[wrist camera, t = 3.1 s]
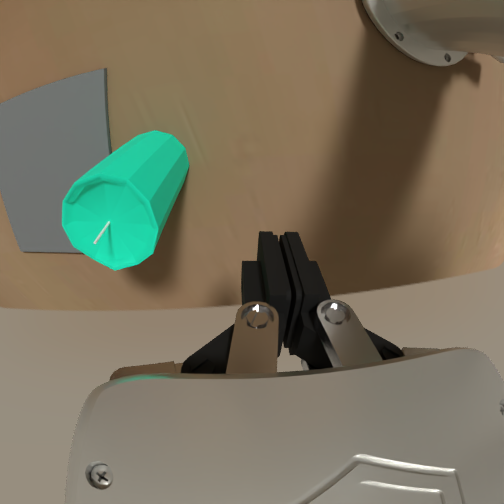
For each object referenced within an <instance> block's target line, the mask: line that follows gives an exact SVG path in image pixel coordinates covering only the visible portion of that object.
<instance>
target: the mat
mask: <svg viewBox="0 0 504 504" xmlns="http://www.w3.org/2000/svg"><path fill="white" fill-rule="evenodd" d="M110 154H112V152H111V142H110V132H109V119H108V103H107V68H105V69H100V70H95V71H91V72H87V73H83V74H80V75H76V76H73V77H69V78H66V79H63V80H59V81H56V82H53V83H50V84H47V85H44V86H42V87H39V88H36V89H34V90H31V91H28V92H26V93H23V94H21V95H19V96H16V97H14V98H12V99H9V100H7V101H5V102H3V103H1V104H0V191H1V194H2V198H3V201H4V205H5V208H6V211H7V215H8V218H9V221H10V224H11V227H12V229H13V232H14V235H15V238H16V240H17V243H18V245H19V248H20V251H25V252H69V253H82V252H81V251H79V250H78V249H76V248H74V247H73V245H72V243H71V242H70V240H69V238H68V236H67V234H66V232H65V230H64V228H63V226H62V204H63V200H64V198H65V196H66V195H67V193H68V191H69V190H70V188H71V187H72V185H73V184H74V182H76V181H77V180H78V179H79V178H81V177H82V176H83V175H84V174H85V173H87V172H88V171H89V170H90V169H92V168H93V167H94V166H96V165H97V164H98V163H100V162H101V161H102V160H103V159H105V158H106V157H108V156H109V155H110Z"/></svg>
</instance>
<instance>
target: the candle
mask: <svg viewBox="0 0 504 504" xmlns="http://www.w3.org/2000/svg"><path fill="white" fill-rule="evenodd" d="M188 168H189V162H188V157H187V153H186V149H185V147H184V146H183V145H182V144H181V143H180V142H179V141H178V140H177V139H176V138H175V137H174V136H173V135H171V134H167V133H163V132H160V131H156V130H155V131H151V132H147V133H144V134H140V135H138V136H136V137H135V138H133V139H132V140H130V141H129V142H127V143H126V144H124V145H123V146H121V147H120V148H119V149H117V150H116V151H114V152H113V153H112V154H110V155H109V156H108V157H106V158H105V159H103V160H102V161H101V162H100V163H98V164H97V165H96V166H94V167H93V168H92V169H90V170H89V171H88V172H87V173H85V174H84V175H83V176H82V177H81V178H79V179H78V180H77V181H76V182H74V184H73V185H72V187H71V188H70V190H69V191H68V193H67V195H66V196H65V198H64V200H63V204H62V226H63V228H64V230H65V232H66V234H67V236H68V238H69V240H70V242H71V243H72V245H73V247H74V248H76V249H78V250H79V251H81V252H82V253H84V254H86V255H87V256H89V257H91V258H92V259H94V260H96V261H98V262H99V263H101V264H103V265H105V266H107V267H109V268H111V269H113V270H119V269H123V268H126V267H130V266H134V265H138V264H140V263H141V262H142V261H144V260H145V259H146V258H148V257H149V256H150V255H152V254H153V252H154V250H155V247H156V245H157V242H158V240H159V238H160V235H161V233H162V230H163V228H164V226H165V223H166V221H167V219H168V216H169V214H170V212H171V210H172V207H173V205H174V203H175V201H176V198H177V196H178V194H179V192H180V190H181V188H182V185H183V183H184V181H185V178H186V175H187V171H188Z"/></svg>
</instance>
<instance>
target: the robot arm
mask: <svg viewBox="0 0 504 504" xmlns="http://www.w3.org/2000/svg"><path fill="white" fill-rule="evenodd" d="M362 3H363V6H364V8H365V9H366V11H367V13H368V15H369V17H370V19H371V20H372V22H373V23H374V24H375V26H376V27H377V29H378V30H379V31H380V32H381V33H382V35H383V36H384V37H385V38H386V39H387V40H388V41H389V42H390V43H391V44H392V45H393V46H395V47H396V48H397V49H398V50H399V51H401V52H402V53H404V54H405V55H407V56H408V57H410V58H412V59H414V60H416V61H418V62H421V63H424V64H427V65H434V66H450V65H453V64H456V63H458V62H459V61H461V60H462V59H463V58H464V57H465V56H466V55H467V53H468V52H471V53H480V54H487V55H491V56H492V57H494V58H495V59H496V60H498V61H499V62H500V63H504V0H362ZM395 36H396V37H395ZM241 292H242V306H241V307H240V308H239V309H238V312H237V314H236V320H235V324H233V325H232V326H231V327H229V328H228V329H227V330H225V331H224V332H223V333H221V334H220V335H218V336H217V337H216V338H214V339H213V340H212V341H210V342H209V343H208V344H206V345H205V346H204V347H202V348H201V349H199V350H198V351H197V352H195V353H194V354H192V355H191V356H190V357H188V358H187V360H185V361H184V363H178V364H174V361H172V362H165V363H158V364H149V365H140V366H131V367H124V368H120V369H118V370H116V371H115V372H114V373H113V374H112V375H111V377H110V381H108V382H106V383H104V384H102V385H100V386H98V387H97V388H95V389H94V390H93V391H92V392H91V393H90V394H89V396H88V397H87V399H86V401H85V403H84V405H83V407H82V410H81V412H80V415H79V418H78V421H77V424H76V428H75V432H74V435H73V440H72V445H71V451H70V457H69V462H68V470H67V480H66V493H65V504H504V382H503V379H502V378H501V376H500V374H499V372H498V370H497V369H496V367H495V365H494V364H493V363H492V361H491V360H490V359H489V357H488V356H487V355H486V354H484V353H483V352H481V351H478V350H476V349H471V348H460V347H455V348H446V349H434V348H433V349H432V348H407V347H403V348H402V350H400V348H398V347H397V346H396V345H394V344H392V343H391V342H389V341H387V340H385V339H383V338H382V337H380V336H378V335H376V334H374V333H372V332H371V331H369V330H367V329H365V328H364V327H363V326H362V324H361V322H360V321H359V319H358V318H357V316H356V314H355V313H354V311H353V310H352V309H351V308H350V306H349V305H347V304H346V303H344V302H342V301H339V300H331V298H330V295H329V292H328V290H327V287H326V285H325V282H324V279H323V277H322V274H321V272H320V269H319V267H318V264H317V262H316V261H309V260H308V257H307V255H306V252H305V249H304V247H303V244H302V241H301V239H300V236H299V234H298V232H285V233H284V235H280V239H279V241H278V237H277V235H273V233H272V232H264V231H260V232H259V239H258V253H257V261H242V276H241ZM282 343H283V344H284V347H285V348H289V353H290V355H297V356H298V357H300V358H301V359H302V360H301V364H302V367H303V370H304V371H292V372H277V358H278V357H279V356H280V352H281V346H282ZM108 466H109V467H108Z"/></svg>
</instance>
